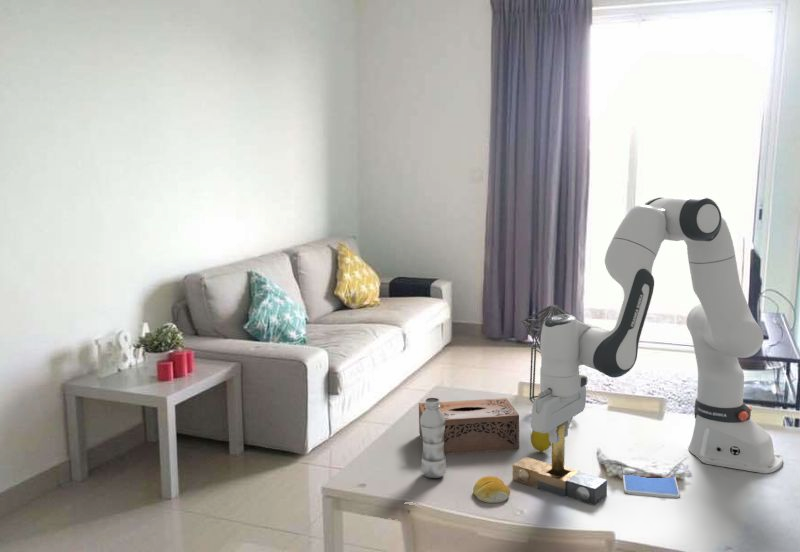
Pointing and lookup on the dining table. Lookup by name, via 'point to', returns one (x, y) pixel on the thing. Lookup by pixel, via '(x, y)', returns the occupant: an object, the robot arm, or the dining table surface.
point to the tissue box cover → (478, 425)
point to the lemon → (540, 441)
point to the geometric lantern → (546, 313)
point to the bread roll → (491, 490)
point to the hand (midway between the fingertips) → (558, 439)
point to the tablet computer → (651, 486)
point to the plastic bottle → (433, 439)
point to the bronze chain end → (540, 473)
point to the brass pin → (559, 449)
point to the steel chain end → (580, 488)
